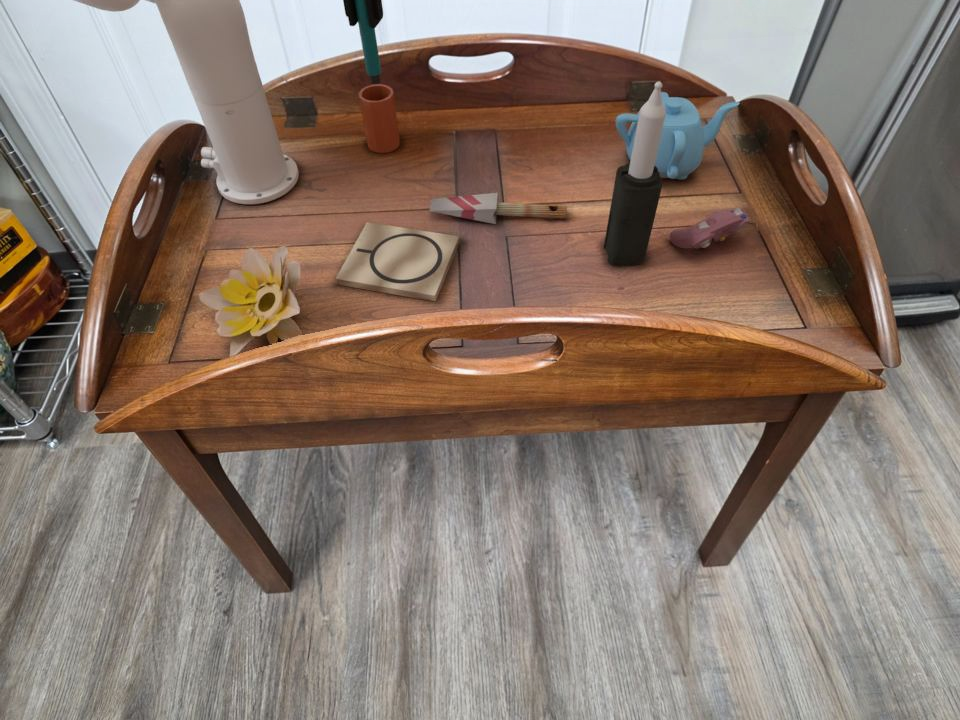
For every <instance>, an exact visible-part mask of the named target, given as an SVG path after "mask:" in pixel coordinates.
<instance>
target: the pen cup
mask: <svg viewBox="0 0 960 720" xmlns="http://www.w3.org/2000/svg"><path fill="white" fill-rule="evenodd" d="M358 99H359V104H360V110H361V115H362V121H363V127H364V133H365V138H366V142H367V143H366V144H367V147H368V149H369V151H372V152H374V153H377V154H386V153H387V154H388V153H390V152H393V151H395V150H397V149H398V148H399V147H400V145H401V138H400V131H399V124H398V117H397V116H398V115H397V109H396V101H395V100H396V99H395V92H394V89H393V88H392V87H391V86H390V85H387V84H382V83H378V84H370V85H366V86H364V87H363V88H361V89H360V90H359V91H358Z"/></svg>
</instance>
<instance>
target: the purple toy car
mask: <svg viewBox="0 0 960 720" xmlns="http://www.w3.org/2000/svg"><path fill="white" fill-rule="evenodd" d="M750 223H751V218H749V217H748V214H747V213H746V212H745V211H743V209H741V207H734V208H730V209H727V210H717V211H714V212H712V213H711V214H710V215H709V216H708V217H706V218H704V219H702V220H700V221H698V222H696V223H694V224H693V225H691V226H689V227H685V228H675V229H673V230H672V231H670V233H669V241H670V242H671V243H672V245H674V246H675V247H678V248H682V249H688V248H689V249H690V248H692V249H694V248H695V250H698V249H700V248H701V249H702V248H704V249H706V248H707V247H709V246H710V244H711V243H712V240H713V242H714V243H716V242H718V241H720V242H723V241H724V240H726V238H727V237H728V236H730V235H731V234H734V233H735V232H738V231H739V230H742V229H743V228H744V227H745V226H747V225H748V224H750Z"/></svg>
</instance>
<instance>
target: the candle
mask: <svg viewBox="0 0 960 720" xmlns="http://www.w3.org/2000/svg"><path fill="white" fill-rule="evenodd" d="M662 88H663V83H662V82H661V81H656V82H655V83H654V89H653V91H652V93H651V94H650V96H649V97H648V100H647V101H646V102H644V104H643V105H642V106H641V107H640V110H639V111H640V113H639V119H638V124H637V129H636V135H635V140H634V145H633V151H632V156H631V161H629V162H627V163H626V164H624V165H620V166H618V167H617V169H616V171H615V172H616V173H615V179H614V183H613V184H614V185H613V189H612V190H613V191H612V196H611V202H610V207H609V214H608V220H607V225H606V231H605V238H604V243H603V249H604V250H605V252H606V256H607V262H608V264H609V265H611V266H613V267H626V266H639V265H642V264H644V263H645V260H646V256H647V251H648V247H649V243H650V239H651V235H652V230H653V227H654V222H655V219H656V215H657V210H658V206H659V201H660V197H661V193H662V188H663V185H664V183H663V180H662V178H661V177H660V175H659V174H660V173H659V172H658V168H657V167H656V166H655V160H656V156H657V151H658V147H659V142H660V138H661V133H662V129H663V124H664V120H665V115H666V109H665V107H664V105H663V103H662V96H661V92H662Z"/></svg>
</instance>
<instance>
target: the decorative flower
mask: <svg viewBox="0 0 960 720" xmlns="http://www.w3.org/2000/svg"><path fill="white" fill-rule="evenodd" d="M288 254H289V250H288V247H287V246H285V245H281V246H278V247H277V249H276V250H275V251H274V252H273V254H272V255H271V259H270V261H269V263H268V260H267V259H266V258H265V257H264V256H263V255H262V254H261V253H259V251H257V250H256V249H255V248H253V247H249V248H248V249H247V250H246V252H245V253H244V254H243V255H242V258H241V263H240V265H241V269H237V268H236V269H234V268H232V269H231V270H230V271H229V273H228V278H225V279H224V280H223V281H222V282H220V284H219V286H216V287H213V288H210V289H206V290H204V291H201V292H199V293H198V297H199V301H200V302H202V303H203V305H205V306H207V307H209V308H211V309H213V310H215V311H217V312H216V313H215V318H214V322H215V323H216V324H217V325H218V327H217V329H216V332H217V334H218V336H219V337H225V338H226V337H230V345H229V346H230V347H229V358H230V357H231V356H233V355H236V354H237V355H239V353H241V352H242V351H243V350H244V349H245V348H246V347H247V346H248V345H249V344H250V343H251V341H252V340H253V339H254V338H255V337H260V336H262V335H264V334H265V335H266V338H267V341H268V343H269V344H270V345H271V344H272V343H275V342H277V343H278V340H279V339H280V340H281V341H284V340H285V339H288V338H292V337H295V336H298V335H302V334H303V332H302V330H301V328H300V327H299V326H298V324H297V323H296V321H295V320H293V318H291V317H293V316H296V315H298V314H300V312H301V309H300V305H299V302H298V299H297V297H298V296H297V295H295V294H294V293H296V290H297V289H298V286H299V284H300V281H301V280H300V279H301V265H300V262H298V261H296V260H295V259H293V260H290V261H289V262H288V263H286V261H287V257H288ZM237 355H236V356H237Z"/></svg>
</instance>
